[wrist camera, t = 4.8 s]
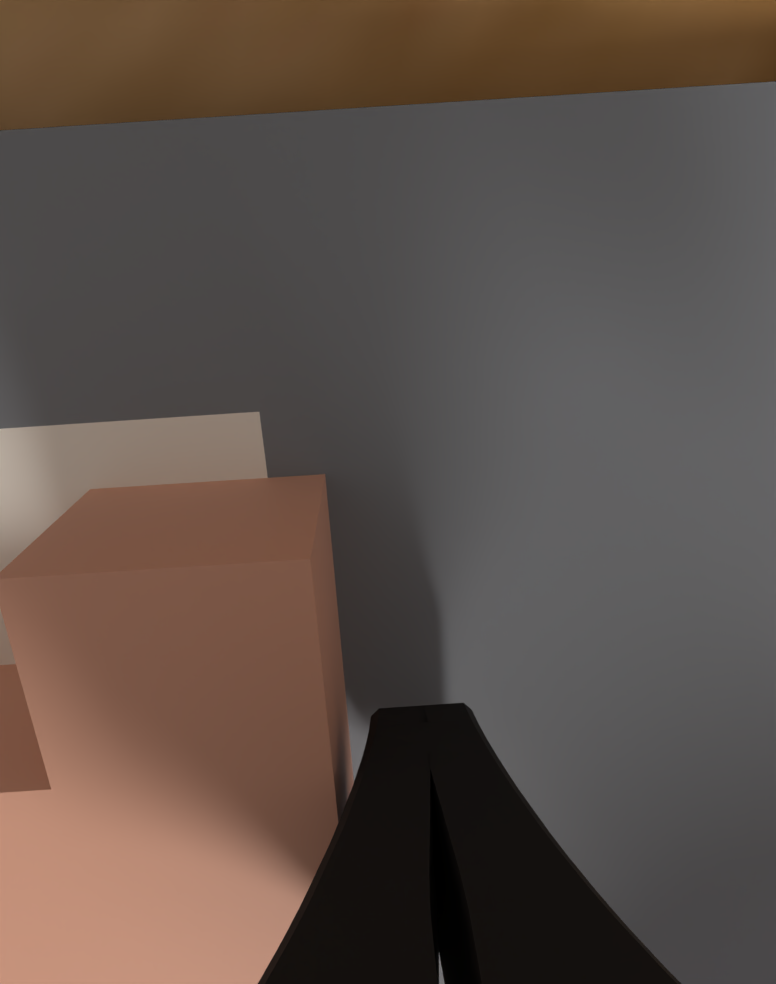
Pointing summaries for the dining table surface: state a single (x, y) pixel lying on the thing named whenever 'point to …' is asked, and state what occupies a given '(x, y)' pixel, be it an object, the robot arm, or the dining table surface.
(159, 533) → the t block
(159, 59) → the dining table surface
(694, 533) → the board
